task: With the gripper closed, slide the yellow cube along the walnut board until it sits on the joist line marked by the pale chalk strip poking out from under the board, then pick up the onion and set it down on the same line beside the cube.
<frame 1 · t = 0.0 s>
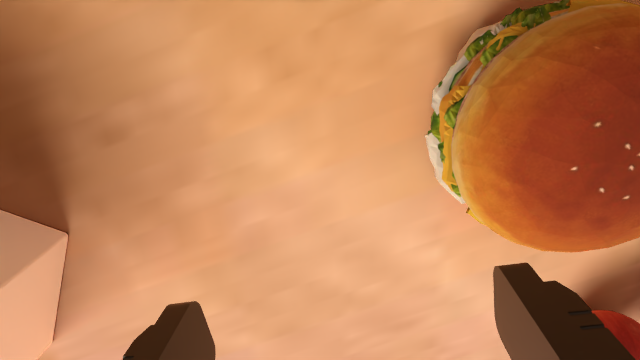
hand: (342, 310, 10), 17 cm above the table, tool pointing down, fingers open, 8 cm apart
burger: (519, 113, 25), on the table
onion: (579, 314, 31), on the table
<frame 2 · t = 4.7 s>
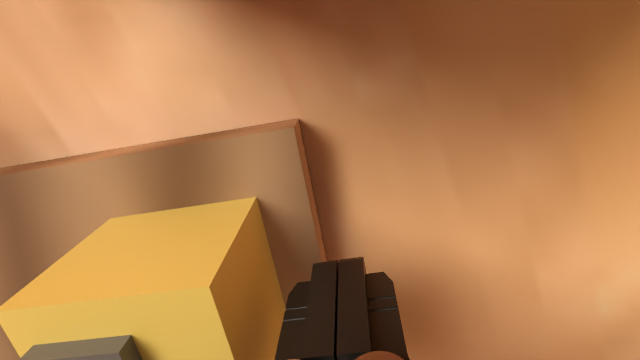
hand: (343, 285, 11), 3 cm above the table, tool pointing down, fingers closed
yellow cube: (203, 272, 13), point 1 cm above the table, touching gripper
board: (80, 333, 16), on the table
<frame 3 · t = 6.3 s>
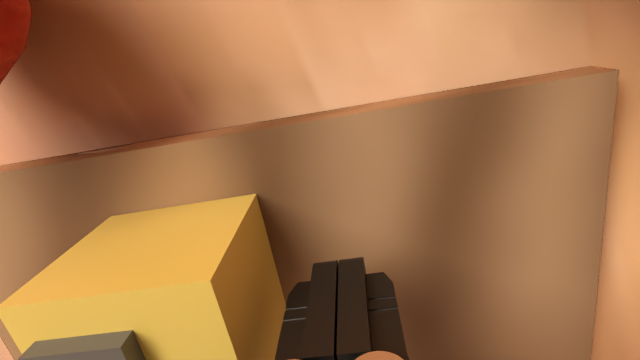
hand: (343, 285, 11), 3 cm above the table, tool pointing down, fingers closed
yellow cube: (204, 269, 13), point 1 cm above the table, touching gripper
board: (282, 309, 15), on the table
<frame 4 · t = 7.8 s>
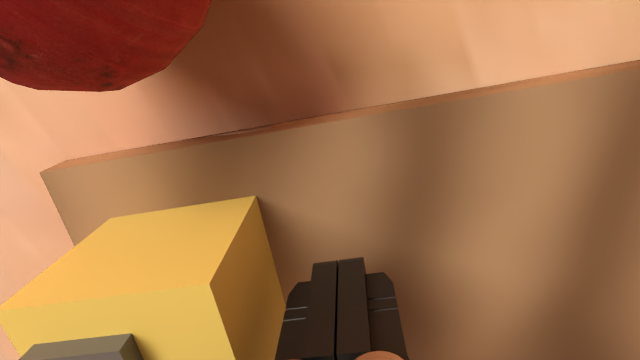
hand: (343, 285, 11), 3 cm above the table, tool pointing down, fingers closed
yellow cube: (204, 271, 13), point 1 cm above the table, touching board, gripper
board: (406, 298, 14), on the table
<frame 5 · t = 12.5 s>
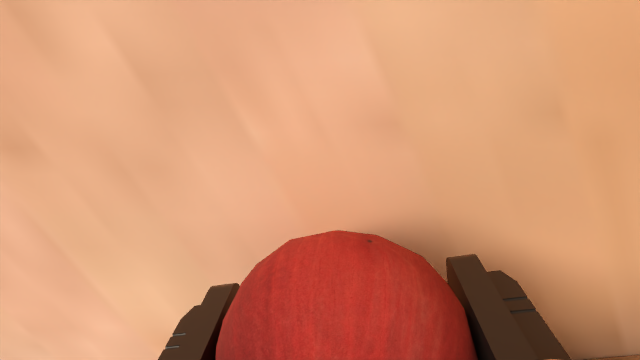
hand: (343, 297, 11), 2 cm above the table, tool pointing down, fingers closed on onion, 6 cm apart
onion: (343, 261, 12), on the table, touching gripper
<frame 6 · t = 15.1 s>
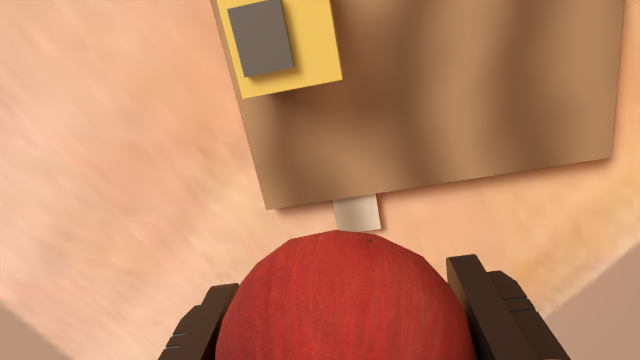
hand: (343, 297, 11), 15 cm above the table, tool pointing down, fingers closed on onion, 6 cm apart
yellow cube: (292, 35, 22), point 1 cm above the table, touching board
onion: (342, 261, 12), point 14 cm above the table, touching gripper
board: (414, 65, 23), on the table
when the fingers open (4 cm above the table, at t = 17.7 s): onion drops 1 cm, resting on board.
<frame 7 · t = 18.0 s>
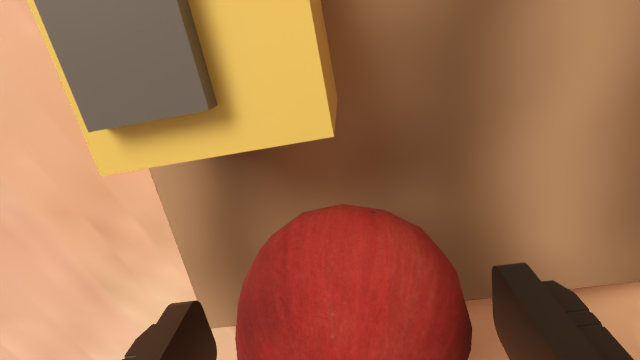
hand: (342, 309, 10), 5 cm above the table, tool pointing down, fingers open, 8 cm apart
yellow cube: (238, 29, 11), point 1 cm above the table, touching board
onion: (348, 239, 13), point 1 cm above the table, touching board
board: (471, 87, 12), on the table
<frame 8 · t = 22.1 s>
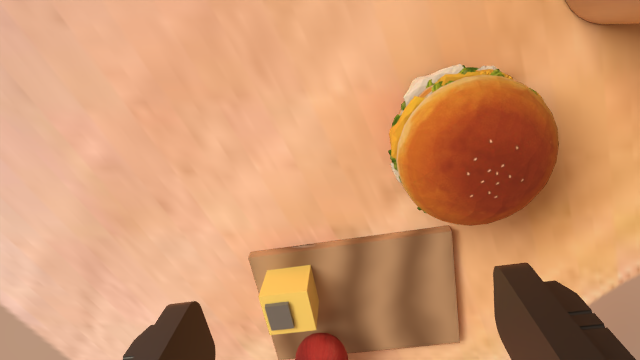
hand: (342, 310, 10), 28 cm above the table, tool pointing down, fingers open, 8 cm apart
yellow cube: (293, 286, 43), point 1 cm above the table, touching board
burger: (451, 132, 37), on the table
onion: (323, 334, 45), point 1 cm above the table, touching board
board: (356, 294, 44), on the table
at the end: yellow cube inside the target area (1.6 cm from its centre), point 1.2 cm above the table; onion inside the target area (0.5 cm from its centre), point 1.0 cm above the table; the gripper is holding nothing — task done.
